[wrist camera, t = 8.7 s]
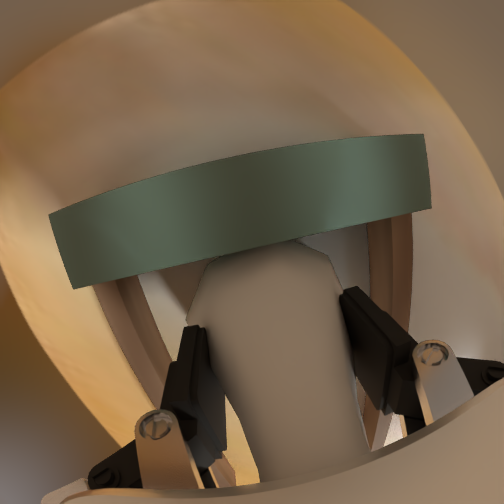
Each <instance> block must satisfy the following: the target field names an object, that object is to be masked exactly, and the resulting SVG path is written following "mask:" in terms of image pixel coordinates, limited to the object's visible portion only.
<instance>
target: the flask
mask: <svg viewBox="0 0 504 504" xmlns="http://www.w3.org/2000/svg"><path fill="white" fill-rule="evenodd" d="M340 294H343V289H342V287H341V284H340V282H339V280H338V278H337V275H336V273H335V271H334V269H333V266H332V264H331V262H330V260H329V258H328V256H327V255H325V254H323V253H321V252H319V251H316V250H314V249H312V248H310V247H307V246H305V245H303V244H300V243H298V242H296V241H294V240H287V241H282V242H278V243H273V244H269V245H265V246H260V247H256V248H251V249H247V250H243V251H238V252H234V253H229V254H225V255H223V256H221V257H219V258H218V259H216V260H214V261H212V262H211V263H209V264H207V267H206V269H205V271H204V274H203V276H202V279H201V281H200V284H199V286H198V289H197V291H196V294H195V296H194V299H193V302H192V304H191V307H190V309H189V312H188V314H187V317H186V322H187V324H188V326H192V325H197V324H198V325H199V326H200V328H201V327H205V329H206V333H207V341H208V349H209V357H210V365H211V368H212V370H213V372H214V374H215V376H216V378H217V380H218V382H219V384H220V386H221V387H222V389H223V391H224V393H225V395H226V397H227V398H228V400H229V402H230V404H231V406H232V407H233V409H234V411H235V413H236V414H237V416H238V418H239V420H240V422H241V425H242V428H243V431H244V434H245V437H246V439H247V442H248V445H249V447H250V450H251V453H252V455H253V458H254V461H255V463H256V466H257V468H258V472H259V478H260V483H262V482H268V481H274V480H279V479H284V478H288V477H293V476H297V475H301V474H305V473H309V472H313V471H317V470H320V469H324V468H327V467H330V466H334V465H337V464H340V463H343V462H346V461H349V460H352V459H354V458H357V457H360V456H363V455H365V454H368V453H370V452H371V450H370V448H369V444H368V440H367V435H366V431H365V427H364V423H363V419H362V416H361V412H360V408H359V404H358V400H357V388H356V375H355V365H354V355H353V348H352V345H351V341H350V337H349V334H348V330H347V326H346V323H345V319H344V316H343V312H342V309H341V306H340V302H339V295H340Z"/></svg>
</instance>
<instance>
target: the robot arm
mask: <svg viewBox="0 0 504 504" xmlns="http://www.w3.org/2000/svg"><path fill="white" fill-rule="evenodd" d="M339 302H340V306H341V309H342V312H343V316H344V319H345V323H346V326H347V330H348V334H349V337H350V341H351V345H352V348H353V355H354V365H355V374H356V376H357V378H358V379H359V381H360V383H361V385H362V386H363V388H364V390H365V391H366V393H367V395H368V397H369V398H370V400H371V402H372V403H373V405H374V407H375V408H376V410H381V411H382V412H383V414H384V416H386V415H388V414H391V413H393V412H394V413H395V414H399V418H400V423H401V428H402V434H403V438H402V439H400V440H398V441H396V442H394V443H391V444H389V445H387V446H385V447H382V448H380V449H378V450H375V451H373V452H370V453H368V454H365V455H363V456H360V457H357V458H354V459H352V460H349V461H346V462H343V463H340V464H337V465H334V466H330V467H327V468H324V469H320V470H317V471H313V472H309V473H305V474H301V475H297V476H293V477H288V478H284V479H279V480H274V481H268V482H262V483H256V484H249V485H242V486H233V487H223V488H219V485H218V483H217V481H216V479H215V476H214V474H213V471H212V469H211V467H210V466H211V465H212V464H213V463H214V462H215V459H222V451H225V450H227V438H226V414H225V393H224V391H223V389H222V387H221V386H220V384H219V382H218V380H217V378H216V376H215V374H214V372H213V370H212V368H211V365H210V357H209V349H208V341H207V333H206V329H205V327H201V328H200V326H199V325H198V324H197V325H192V326H187V327H184V329H183V334H182V338H181V343H180V348H179V353H178V357H177V361H173V362H171V363H170V365H169V368H168V373H167V377H166V382H165V386H164V391H163V396H162V400H161V405H160V409H158V410H152V411H150V412H148V413H146V414H144V415H143V416H141V417H140V419H139V420H138V421H137V423H136V425H135V431H134V432H135V439H134V440H133V441H132V442H130V443H129V444H127V445H126V446H124V447H123V448H121V449H120V450H119V451H117V452H116V453H114V454H112V455H111V456H109V457H108V458H107V459H105V460H103V461H102V462H100V463H99V464H97V465H96V466H95V467H93V468H92V469H91V471H90V472H89V475H88V479H87V480H85V479H84V478H81V479H79V480H77V481H75V482H73V483H71V484H69V485H67V486H64V487H62V488H60V489H58V490H55V491H53V492H51V493H48V494H47V495H45V496H44V497H43V499H42V500H41V504H504V364H503V363H501V362H498V361H491V360H479V359H468V358H459V357H455V355H454V353H453V351H452V349H451V348H450V346H449V345H447V344H446V343H444V342H442V341H439V340H427V341H424V342H421V343H419V344H418V343H417V342H416V341H415V340H414V339H413V338H412V337H411V336H410V335H409V334H408V333H407V332H406V331H405V330H404V329H403V328H402V327H401V326H400V325H399V324H398V323H397V322H396V321H395V320H394V319H393V318H392V317H391V316H390V315H389V314H388V313H387V312H386V311H382V310H381V309H380V308H379V307H378V306H377V305H376V304H375V303H374V302H373V301H372V300H371V299H370V298H369V297H368V296H367V295H366V294H365V293H364V292H363V291H362V290H361V289H360V288H359V287H358V286H355V287H352V288H348V289H345V290H343V294H340V295H339Z"/></svg>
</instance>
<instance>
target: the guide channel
mask: <svg viewBox="0 0 504 504" xmlns="http://www.w3.org/2000/svg"><path fill="white" fill-rule="evenodd" d="M430 208H432V206H431V190H430V178H429V169H428V160H427V153H426V146H425V139H424V134H404V135H384V136H370V137H358V138H348V139H339V140H330V141H322V142H314V143H307V144H300V145H294V146H287V147H281V148H275V149H270V150H264V151H259V152H254V153H248V154H244V155H239V156H234V157H229V158H225V159H220V160H216V161H212V162H207V163H203V164H199V165H195V166H191V167H187V168H184V169H180V170H176V171H173V172H169V173H165V174H162V175H158V176H155V177H152V178H148V179H145V180H142V181H139V182H135V183H132V184H129V185H126V186H123V187H120V188H117V189H114V190H111V191H108V192H105V193H103V194H100V195H97V196H94V197H92V198H89V199H86V200H83V201H81V202H78V203H76V204H73V205H71V206H68V207H66V208H63V209H61V210H58V211H56V212H54V213H51V214H49V219H50V223H51V226H52V230H53V233H54V236H55V240H56V243H57V246H58V249H59V252H60V255H61V258H62V261H63V264H64V267H65V269H66V272H67V275H68V277H69V280H70V282H71V285H72V287H73V289H78V288H82V287H86V286H90V285H93V287H94V290H95V292H96V295H97V297H98V300H99V302H100V304H101V307H102V309H103V311H104V314H105V316H106V318H107V320H108V322H109V324H110V327H111V329H112V331H113V333H114V335H115V337H116V339H117V341H118V343H119V345H120V347H121V349H122V351H123V353H124V355H125V357H126V358H127V360H128V362H129V364H130V366H131V368H132V369H133V371H134V373H135V375H136V376H137V378H138V380H139V382H140V383H141V385H142V387H143V388H144V390H145V392H146V393H147V395H148V396H149V398H150V400H151V401H152V403H153V404H154V406H155V407H156V409H157V410H158V409H160V405H161V400H162V396H163V391H164V386H165V382H166V377H167V373H168V368H169V365H170V363H171V362H172V359H171V357H170V355H169V353H168V351H167V349H166V346H165V344H164V342H163V340H162V337H161V335H160V333H159V330H158V328H157V326H156V323H155V321H154V318H153V316H152V313H151V311H150V308H149V306H148V303H147V301H146V298H145V295H144V293H143V290H142V287H141V285H140V282H139V279H138V276H137V275H138V274H142V273H146V272H151V271H155V270H159V269H164V268H168V267H173V266H177V265H181V264H186V263H190V262H194V261H199V260H203V259H207V258H212V257H216V256H221V255H225V254H229V253H234V252H238V251H243V250H247V249H251V248H256V247H260V246H265V245H269V244H273V243H278V242H282V241H287V240H291V239H296V238H300V237H304V236H309V235H313V234H318V233H322V232H327V231H331V230H336V229H340V228H345V227H349V226H354V225H358V224H363V223H367V234H368V247H369V265H370V299H371V300H372V301H373V302H374V303H375V304H376V305H377V306H378V307H379V308H380V309H381V310H382V311H386V312H387V313H388V314H389V315H390V316H391V317H392V318H393V319H394V320H395V321H396V322H397V323H398V324H399V325H400V326H401V327H402V328H403V329H404V330H405V331H406V332H407V333H408V327H409V317H410V306H411V292H412V267H413V237H412V212H417V211H421V210H426V209H430ZM392 415H393V413H391V414H388V415H386V416H384V414H383V412H382V411H381V410H376V408H375V407H374V405H373V403H372V402H371V400H370V398H369V397H368V395H367V393H366V400H365V408H364V416H363V423H364V427H365V431H366V435H367V440H368V444H369V448H370V450H371V452H373V451H375V450H378V449H380V448H382V447H383V446H384V443H385V440H386V436H387V433H388V429H389V426H390V422H391V419H392ZM210 467H211V469H212V471H213V474H214V476H215V479H216V481H217V483H218V485H219V488H223V487H233V486H236V478H235V471H234V470H233V468H232V467H231V465H230V464H229V462H228V461H227V459H226V458H225V456H224V454H223V453H222V459H215V462H214V463H213V464H212V465H211V466H210Z"/></svg>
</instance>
